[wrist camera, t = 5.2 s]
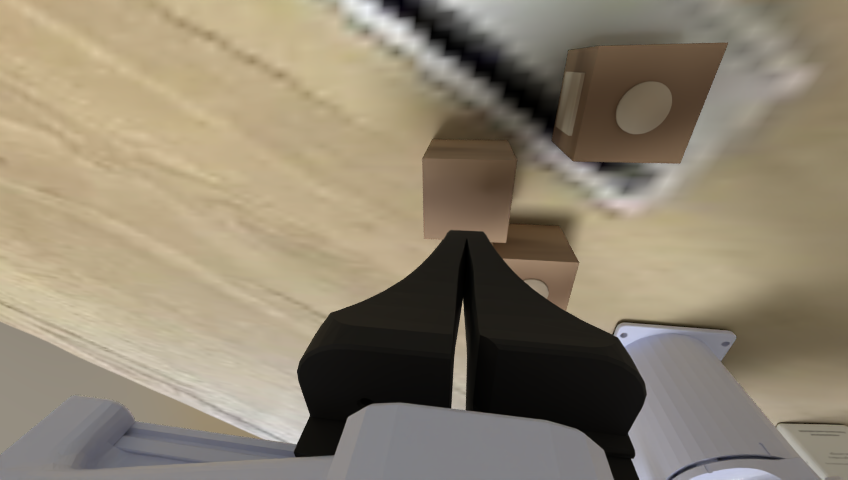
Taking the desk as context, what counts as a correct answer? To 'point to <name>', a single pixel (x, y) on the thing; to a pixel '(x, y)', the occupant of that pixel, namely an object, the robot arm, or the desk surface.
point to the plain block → (468, 187)
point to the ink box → (820, 447)
